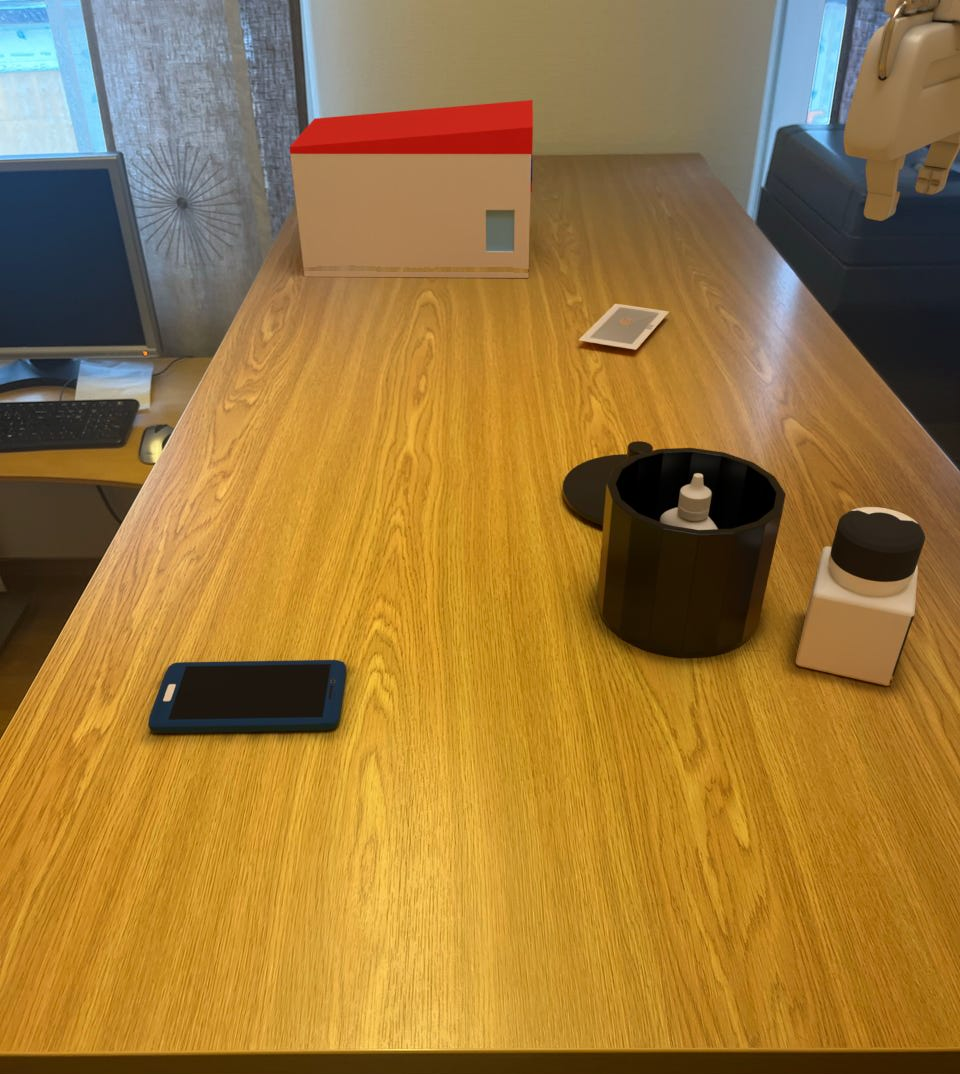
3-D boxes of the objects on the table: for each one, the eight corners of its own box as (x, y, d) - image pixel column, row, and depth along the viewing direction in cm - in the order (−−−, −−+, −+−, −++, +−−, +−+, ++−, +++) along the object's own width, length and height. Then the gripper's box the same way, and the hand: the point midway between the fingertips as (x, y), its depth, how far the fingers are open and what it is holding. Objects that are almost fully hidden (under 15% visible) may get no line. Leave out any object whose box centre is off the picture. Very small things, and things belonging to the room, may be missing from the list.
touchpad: (577, 348, 128) (578, 331, 126) (614, 311, 138) (615, 295, 137) (635, 357, 125) (636, 341, 124) (668, 319, 136) (670, 303, 134)
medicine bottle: (890, 688, 74) (935, 556, 67) (794, 666, 76) (827, 536, 69) (895, 635, 79) (937, 506, 72) (805, 615, 81) (837, 489, 74)
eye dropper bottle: (660, 622, 80) (677, 494, 73) (647, 583, 84) (663, 458, 77) (712, 621, 80) (735, 492, 73) (697, 582, 85) (717, 457, 77)
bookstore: (530, 278, 150) (534, 127, 137) (304, 276, 151) (287, 126, 138) (530, 238, 166) (534, 99, 153) (326, 237, 167) (312, 100, 154)
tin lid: (735, 494, 97) (744, 442, 94) (656, 554, 89) (663, 500, 85) (616, 451, 105) (620, 401, 101) (532, 502, 96) (534, 450, 93)
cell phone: (169, 669, 76) (168, 661, 76) (348, 666, 76) (347, 658, 76) (146, 734, 70) (144, 726, 70) (339, 730, 71) (338, 723, 70)
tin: (787, 602, 83) (815, 483, 76) (705, 680, 75) (728, 555, 68) (654, 547, 90) (668, 432, 83) (566, 612, 82) (573, 492, 75)
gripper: (947, -1, 57) (888, 244, 66) (1055, -23, 69) (993, 185, 78) (846, -7, 61) (801, 226, 69) (966, -28, 73) (915, 173, 81)
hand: (904, 204), depth 74 cm, fingers open, 8 cm apart
